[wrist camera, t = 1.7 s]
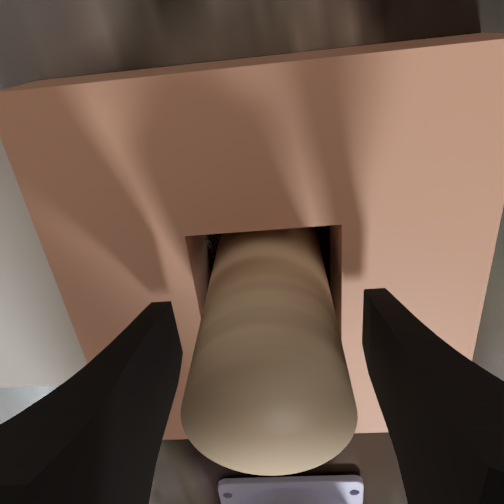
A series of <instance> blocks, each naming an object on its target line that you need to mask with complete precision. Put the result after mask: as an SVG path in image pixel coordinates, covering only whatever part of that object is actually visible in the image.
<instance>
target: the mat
mask: <svg viewBox="0 0 504 504" xmlns="http://www.w3.org/2000/svg"><path fill="white" fill-rule="evenodd" d="M85 365H87V361H86V359H85V356H84V354H83V351H82V349H81V346H80V343H79V341H78V338H77V336H76V333H75V330H74V328H73V325H72V323H71V320H70V317H69V315H68V312H67V310H66V307H65V304H64V302H63V299H62V297H61V294H60V291H59V289H58V286H57V284H56V281H55V278H54V276H53V273H52V271H51V268H50V266H49V263H48V260H47V258H46V255H45V253H44V250H43V247H42V245H41V242H40V240H39V237H38V234H37V232H36V229H35V227H34V224H33V221H32V219H31V216H30V214H29V211H28V208H27V206H26V203H25V201H24V198H23V195H22V193H21V190H20V188H19V185H18V183H17V180H16V177H15V175H14V172H13V170H12V167H11V164H10V162H9V159H8V157H7V154H6V151H5V149H4V146H3V144H2V141H1V138H0V388H5V387H27V386H48V385H61V384H63V383H64V382H65V381H67V380H68V379H69V378H71V377H72V376H73V375H74V374H76V373H77V372H78V371H79V370H81V369H82V368H83V367H84V366H85Z"/></svg>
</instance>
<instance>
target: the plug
mask: <svg viewBox="0 0 504 504" xmlns="http://www.w3.org/2000/svg"><path fill="white" fill-rule="evenodd" d="M180 417H181V423H182V427H183V429H184V432H185V434H186V436H187V437H188V439H189V440H190V442H191V443H192V444H193V446H194V447H195V448H196V449H197V450H198V451H199V452H201V453H202V454H203V455H204V456H206V457H207V458H209V459H210V460H212V461H214V462H215V463H217V464H220V465H222V466H224V467H226V468H229V469H232V470H235V471H239V472H243V473H248V474H253V475H263V476H278V475H289V474H295V473H299V472H303V471H307V470H310V469H313V468H315V467H318V466H320V465H322V464H324V463H326V462H328V461H329V460H331V459H332V458H334V457H335V456H336V455H338V454H339V453H340V452H341V451H342V450H343V449H344V448H345V447H346V446H347V444H348V443H349V442H350V440H351V439H352V437H353V435H354V433H355V430H356V426H357V420H358V414H357V407H356V402H355V398H354V394H353V389H352V385H351V380H350V376H349V372H348V367H347V363H346V359H345V354H344V350H343V345H342V341H341V337H340V332H339V328H338V324H337V319H336V315H335V310H334V306H333V302H332V297H331V293H330V289H329V284H328V280H327V275H326V271H325V267H324V262H323V258H322V254H321V249H320V245H319V241H318V237H317V234H316V232H315V230H314V228H313V227H303V228H289V229H276V230H262V231H249V232H235V233H222V234H221V236H220V239H219V243H218V247H217V252H216V256H215V261H214V265H213V269H212V274H211V278H210V282H209V287H208V291H207V295H206V300H205V304H204V308H203V313H202V317H201V322H200V326H199V330H198V335H197V339H196V343H195V348H194V352H193V356H192V361H191V365H190V370H189V374H188V378H187V383H186V387H185V391H184V396H183V400H182V405H181V414H180Z"/></svg>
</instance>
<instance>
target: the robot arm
mask: <svg viewBox="0 0 504 504" xmlns="http://www.w3.org/2000/svg"><path fill="white" fill-rule="evenodd" d="M362 346H363V351H364V356H365V360H366V365H367V369H368V374H369V377H370V380H371V383H372V386H373V388H374V391H375V394H376V397H377V400H378V403H379V406H380V409H381V411H382V414H383V417H384V420H385V423H386V426H387V429H388V431H389V434H390V437H391V440H392V443H393V446H394V449H395V453H396V456H397V459H398V463H399V468H400V472H401V476H402V480H403V484H404V488H405V492H406V497H407V501H408V504H504V381H502V380H501V379H499V378H497V377H496V376H494V375H492V374H491V373H489V372H488V371H486V370H485V369H483V368H482V367H480V366H479V365H477V364H475V363H474V362H472V361H471V360H469V359H468V358H466V357H465V356H464V355H462V354H461V353H459V352H458V351H457V350H455V349H454V348H453V347H451V346H450V345H449V344H448V343H446V342H445V341H444V340H442V339H441V338H440V337H439V336H437V335H436V334H435V333H434V332H433V331H431V330H430V329H429V328H428V327H427V326H426V325H424V324H423V323H422V322H421V321H420V320H419V319H418V318H417V317H415V316H414V315H413V314H412V313H411V312H410V311H409V310H408V309H407V308H406V307H405V306H404V305H403V304H402V303H401V302H400V301H399V300H397V299H396V298H395V297H394V296H393V295H392V294H391V293H390V292H389V291H388V290H387V289H386V288H375V289H364V299H363V328H362ZM182 356H183V350H182V346H181V342H180V337H179V333H178V329H177V325H176V320H175V316H174V312H173V308H172V303H171V301H165V302H151V303H150V304H149V305H148V306H147V307H146V308H145V309H144V310H143V311H142V312H141V313H140V314H139V315H138V316H137V317H136V318H135V319H134V320H133V321H132V322H131V323H130V324H129V325H128V326H127V327H126V328H125V329H124V330H123V331H122V332H121V333H120V334H119V335H118V336H117V337H116V338H115V339H114V340H113V341H112V342H111V343H110V344H109V345H108V346H107V347H105V348H104V349H103V350H102V351H101V352H100V353H99V354H98V355H97V356H95V357H94V358H93V359H92V360H91V361H90V362H89V363H88V364H87V365H85V366H84V367H83V368H82V369H81V370H79V371H78V372H77V373H76V374H74V375H73V376H72V377H71V378H69V379H68V380H67V381H65V382H64V383H63V384H61V385H60V386H59V387H57V388H56V389H55V390H53V391H52V392H51V393H49V394H48V395H46V396H45V397H43V398H42V399H40V400H39V401H37V402H36V403H34V404H33V405H31V406H29V407H28V408H26V409H25V410H23V411H22V412H20V413H19V414H17V415H16V416H14V417H12V418H11V419H9V420H7V421H6V422H4V423H2V424H1V425H0V504H149V498H150V492H151V487H152V482H153V476H154V471H155V465H156V461H157V457H158V453H159V449H160V446H161V442H162V439H163V435H164V432H165V429H166V425H167V422H168V418H169V415H170V411H171V408H172V404H173V401H174V397H175V394H176V390H177V387H178V383H179V377H180V371H181V364H182ZM363 491H364V485H363V480H362V478H361V477H360V476H358V475H326V476H289V477H253V478H224V479H222V480H220V481H219V482H218V493H219V497H220V501H221V504H363Z"/></svg>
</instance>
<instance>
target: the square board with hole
mask: <svg viewBox="0 0 504 504" xmlns="http://www.w3.org/2000/svg"><path fill="white" fill-rule="evenodd" d="M0 138H1V141H2V144H3V146H4V149H5V151H6V154H7V157H8V159H9V162H10V164H11V167H12V170H13V172H14V175H15V177H16V180H17V183H18V185H19V188H20V190H21V193H22V195H23V198H24V201H25V203H26V206H27V208H28V211H29V214H30V216H31V219H32V221H33V224H34V227H35V229H36V232H37V234H38V237H39V240H40V242H41V245H42V247H43V250H44V253H45V255H46V258H47V260H48V263H49V266H50V268H51V271H52V273H53V276H54V278H55V281H56V284H57V286H58V289H59V291H60V294H61V297H62V299H63V302H64V304H65V307H66V310H67V312H68V315H69V317H70V320H71V323H72V325H73V328H74V330H75V333H76V336H77V338H78V341H79V343H80V346H81V349H82V351H83V354H84V356H85V359H86V361H87V364H88V363H89V362H90V361H91V360H92V359H93V358H94V357H95V356H97V355H98V354H99V353H100V352H101V351H102V350H103V349H104V348H105V347H107V346H108V345H109V344H110V343H111V342H112V341H113V340H114V339H115V338H116V337H117V336H118V335H119V334H120V333H121V332H122V331H123V330H124V329H125V328H126V327H127V326H128V325H129V324H130V323H131V322H132V321H133V320H134V319H135V318H136V317H137V316H138V315H139V314H140V313H141V312H142V311H143V310H144V309H145V308H146V307H147V306H148V305H149V304H150V303H151V302H165V301H171V303H172V308H173V312H174V316H175V320H176V325H177V329H178V333H179V337H180V342H181V346H182V350H183V356H182V364H181V371H180V377H179V383H178V387H177V390H176V394H175V397H174V401H173V404H172V408H171V411H170V415H169V418H168V422H167V425H166V429H165V432H164V435H163V439H162V440H174V439H188V437H187V436H186V434H185V432H184V429H183V427H182V423H181V417H180V414H181V405H182V400H183V396H184V391H185V387H186V383H187V378H188V374H189V370H190V365H191V361H192V356H193V352H194V348H195V343H196V339H197V335H198V330H199V326H200V322H201V317H202V313H203V308H204V304H205V300H206V295H207V291H208V287H209V282H210V278H211V274H212V273H211V268H210V262H209V256H208V250H207V244H206V238H205V235H208V234H222V233H235V232H249V231H262V230H276V229H289V228H303V227H316V226H330V293H331V297H332V302H333V306H334V310H335V315H336V319H337V324H338V328H339V332H340V337H341V341H342V345H343V350H344V354H345V359H346V363H347V367H348V372H349V376H350V380H351V385H352V389H353V394H354V398H355V402H356V407H357V414H358V420H357V426H356V430H355V433H375V432H389V431H388V429H387V426H386V423H385V420H384V417H383V414H382V411H381V409H380V406H379V403H378V400H377V397H376V394H375V391H374V388H373V386H372V383H371V380H370V377H369V374H368V369H367V365H366V360H365V356H364V351H363V346H362V328H363V299H364V289H375V288H386V289H387V290H388V291H389V292H390V293H391V294H392V295H393V296H394V297H395V298H396V299H397V300H399V301H400V302H401V303H402V304H403V305H404V306H405V307H406V308H407V309H408V310H409V311H410V312H411V313H412V314H413V315H414V316H415V317H417V318H418V319H419V320H420V321H421V322H422V323H423V324H424V325H426V326H427V327H428V328H429V329H430V330H431V331H433V332H434V333H435V334H436V335H437V336H439V337H440V338H441V339H442V340H444V341H445V342H446V343H448V344H449V345H450V346H451V347H453V348H454V349H455V350H457V351H458V352H459V353H461V354H462V355H464V356H465V357H466V358H468V359H469V360H471V361H472V358H473V353H474V348H475V343H476V338H477V333H478V328H479V323H480V319H481V314H482V309H483V304H484V299H485V294H486V289H487V284H488V279H489V274H490V269H491V264H492V260H493V255H494V250H495V245H496V240H497V235H498V230H499V225H500V220H501V215H502V210H503V205H504V34H500V33H474V34H465V35H456V36H447V37H437V38H428V39H419V40H409V41H400V42H391V43H381V44H372V45H363V46H353V47H344V48H335V49H326V50H316V51H307V52H298V53H288V54H279V55H270V56H260V57H251V58H242V59H232V60H223V61H214V62H205V63H195V64H186V65H177V66H167V67H158V68H149V69H139V70H130V71H121V72H111V73H102V74H93V75H84V76H74V77H65V78H56V79H46V80H38V81H34V82H30V83H26V84H22V85H18V86H13V87H9V88H5V89H1V90H0Z"/></svg>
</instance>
